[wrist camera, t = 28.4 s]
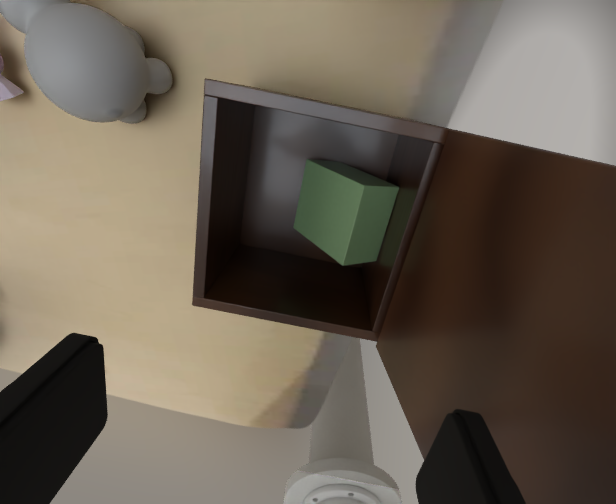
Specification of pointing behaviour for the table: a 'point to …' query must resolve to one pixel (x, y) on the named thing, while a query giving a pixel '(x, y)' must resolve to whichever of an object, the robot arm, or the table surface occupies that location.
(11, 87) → the candy
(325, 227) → the green block
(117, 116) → the chubby cartoon animal
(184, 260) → the table surface
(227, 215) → the chest
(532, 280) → the lid
